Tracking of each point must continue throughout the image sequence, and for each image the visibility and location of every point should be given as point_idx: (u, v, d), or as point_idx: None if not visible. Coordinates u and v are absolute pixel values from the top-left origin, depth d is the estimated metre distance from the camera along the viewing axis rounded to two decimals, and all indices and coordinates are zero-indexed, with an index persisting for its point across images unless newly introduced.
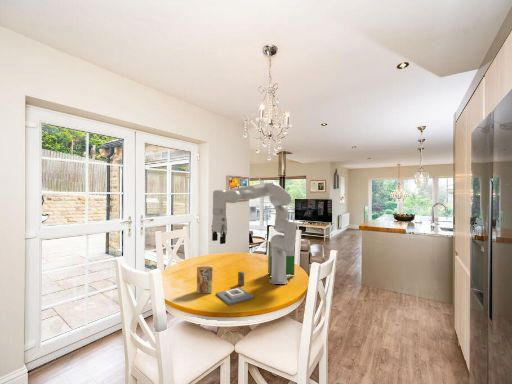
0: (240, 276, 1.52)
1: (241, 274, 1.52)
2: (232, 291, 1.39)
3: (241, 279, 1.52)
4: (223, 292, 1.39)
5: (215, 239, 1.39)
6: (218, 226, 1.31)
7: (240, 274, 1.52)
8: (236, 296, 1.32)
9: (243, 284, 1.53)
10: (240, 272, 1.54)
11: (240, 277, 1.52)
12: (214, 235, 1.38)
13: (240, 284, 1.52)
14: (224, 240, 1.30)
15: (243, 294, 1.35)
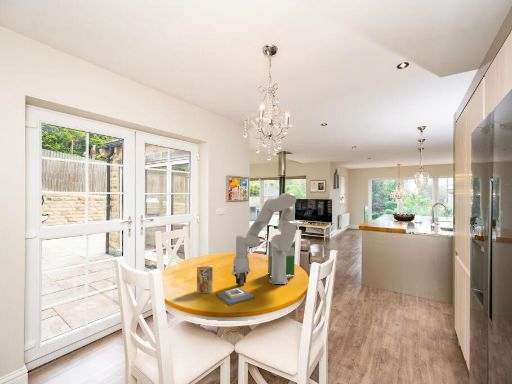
0: (240, 276, 1.52)
1: (241, 274, 1.52)
2: (232, 291, 1.39)
3: (241, 279, 1.52)
4: (223, 292, 1.39)
5: None
6: (247, 266, 1.54)
7: (240, 274, 1.52)
8: (236, 296, 1.32)
9: (243, 284, 1.53)
10: None
11: (240, 277, 1.52)
12: None
13: (240, 284, 1.52)
14: None
15: (243, 294, 1.35)
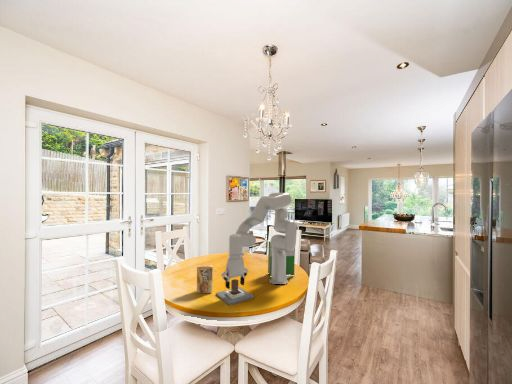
0: (234, 285, 1.34)
1: (235, 282, 1.34)
2: None
3: (235, 288, 1.34)
4: (223, 292, 1.39)
5: None
6: (242, 269, 1.37)
7: (234, 282, 1.34)
8: (236, 296, 1.32)
9: None
10: (234, 280, 1.36)
11: (234, 286, 1.34)
12: None
13: (234, 294, 1.34)
14: None
15: (243, 294, 1.35)
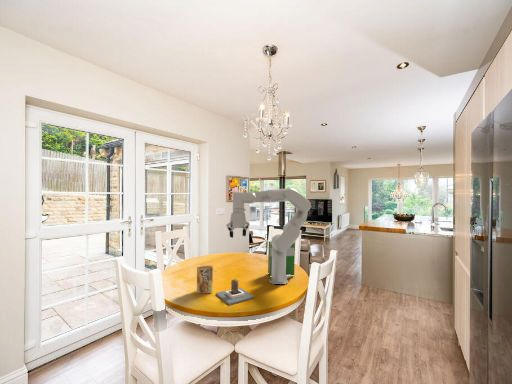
0: (234, 285, 1.34)
1: (235, 282, 1.34)
2: None
3: (235, 288, 1.34)
4: (223, 292, 1.39)
5: None
6: (244, 222, 1.59)
7: (234, 283, 1.34)
8: (236, 296, 1.32)
9: None
10: (234, 280, 1.36)
11: (234, 286, 1.34)
12: None
13: (234, 294, 1.34)
14: None
15: (243, 294, 1.35)
